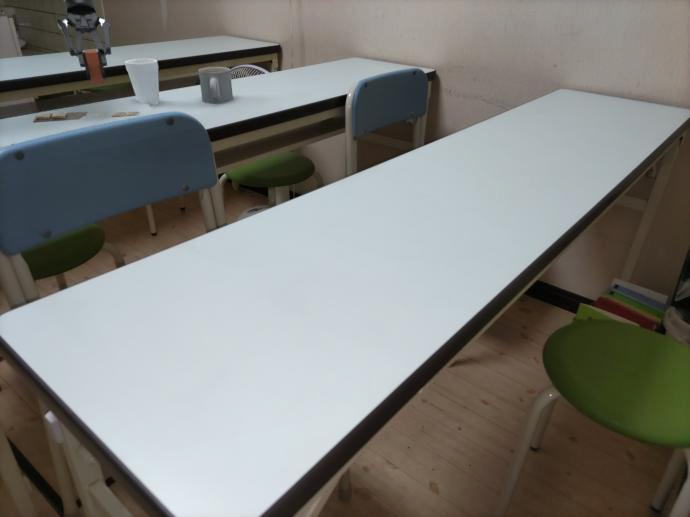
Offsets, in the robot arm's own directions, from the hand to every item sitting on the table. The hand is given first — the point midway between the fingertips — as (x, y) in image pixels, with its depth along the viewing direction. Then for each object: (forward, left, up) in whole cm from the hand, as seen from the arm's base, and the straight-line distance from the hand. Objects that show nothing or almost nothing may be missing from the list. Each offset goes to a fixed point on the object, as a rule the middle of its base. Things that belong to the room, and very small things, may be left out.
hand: (96, 75), depth 137 cm
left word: (-12, +6, -13) cm, 19 cm away
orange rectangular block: (-1, +4, -2) cm, 5 cm away
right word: (+3, +4, -13) cm, 14 cm away
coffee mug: (+32, +19, -13) cm, 39 cm away
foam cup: (+11, +20, -13) cm, 26 cm away
